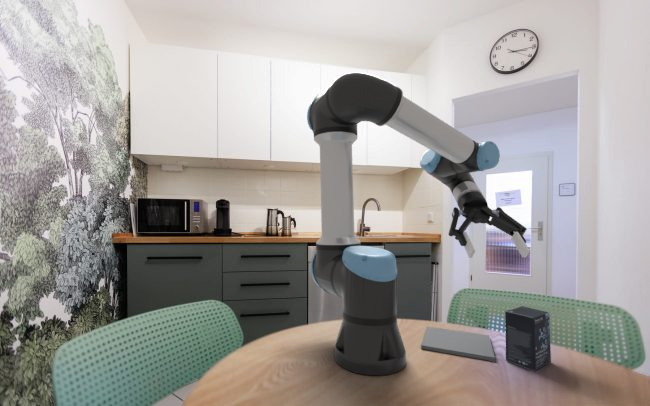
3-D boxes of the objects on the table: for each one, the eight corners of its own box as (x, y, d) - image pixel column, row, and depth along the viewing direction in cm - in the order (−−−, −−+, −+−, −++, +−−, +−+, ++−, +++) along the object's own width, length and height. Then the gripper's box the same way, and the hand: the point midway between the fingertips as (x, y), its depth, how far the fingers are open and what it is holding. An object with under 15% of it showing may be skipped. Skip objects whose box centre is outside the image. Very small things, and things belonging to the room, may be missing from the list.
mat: (421, 348, 69) (421, 345, 69) (427, 329, 82) (426, 326, 82) (495, 361, 63) (494, 357, 63) (489, 338, 76) (488, 335, 76)
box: (535, 372, 59) (533, 317, 59) (505, 361, 63) (503, 310, 64) (552, 362, 63) (550, 311, 64) (522, 352, 68) (521, 305, 68)
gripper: (506, 208, 94) (542, 263, 78) (426, 208, 94) (445, 263, 78) (515, 189, 89) (556, 244, 73) (431, 190, 89) (453, 244, 73)
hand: (499, 254), depth 76 cm, fingers open, 13 cm apart
